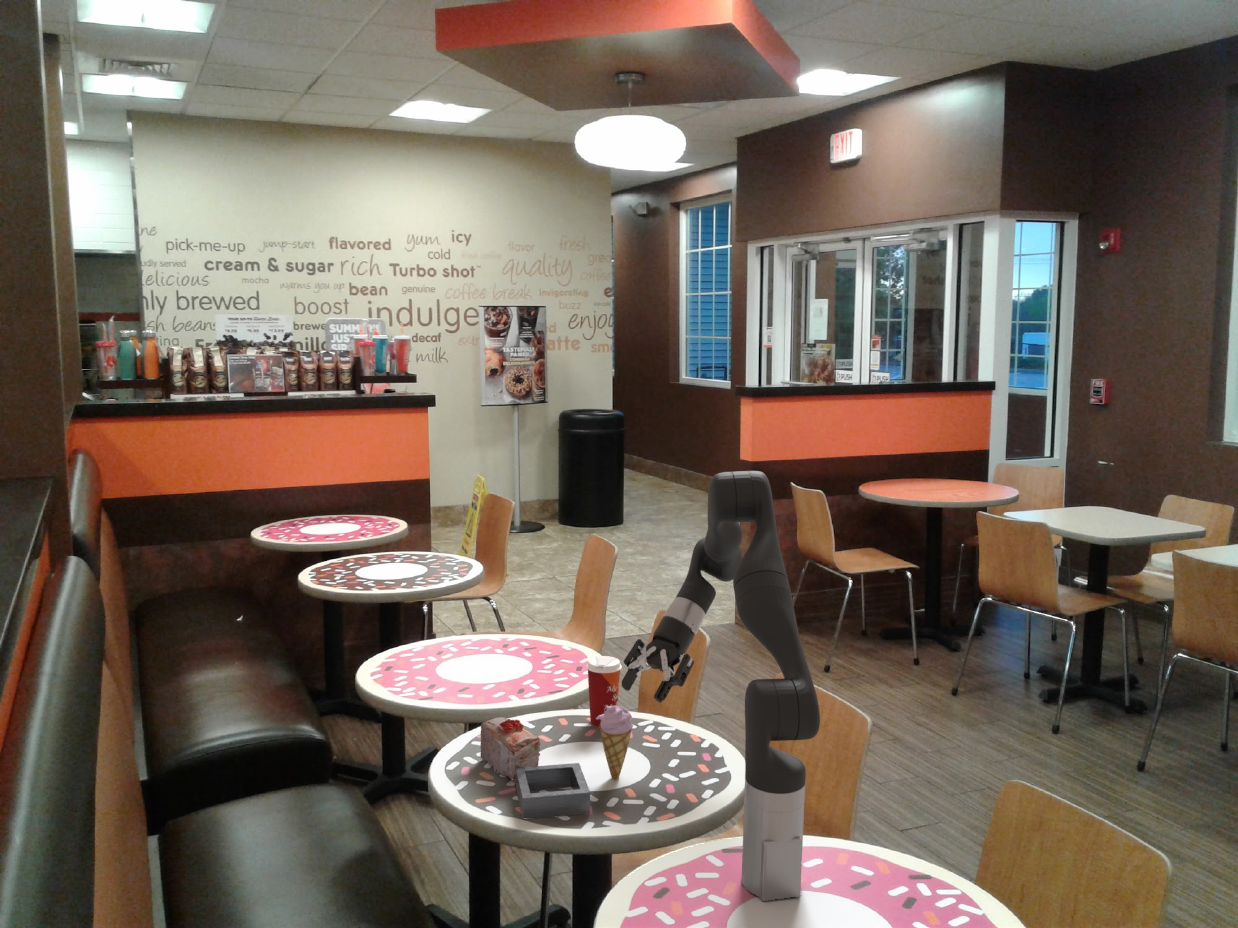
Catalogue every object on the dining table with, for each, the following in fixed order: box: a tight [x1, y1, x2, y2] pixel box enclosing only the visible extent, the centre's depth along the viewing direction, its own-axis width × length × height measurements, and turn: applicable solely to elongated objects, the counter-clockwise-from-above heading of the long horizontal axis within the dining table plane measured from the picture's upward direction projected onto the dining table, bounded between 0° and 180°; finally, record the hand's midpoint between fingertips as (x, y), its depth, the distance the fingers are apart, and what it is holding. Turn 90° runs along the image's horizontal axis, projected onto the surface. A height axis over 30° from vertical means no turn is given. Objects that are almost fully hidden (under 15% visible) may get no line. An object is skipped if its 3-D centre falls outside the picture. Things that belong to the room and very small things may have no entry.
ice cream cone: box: [596, 705, 634, 781], centre depth 190 cm, size 7×6×15 cm
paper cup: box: [585, 655, 623, 728], centre depth 216 cm, size 8×8×14 cm
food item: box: [480, 716, 541, 781], centre depth 194 cm, size 14×8×10 cm, turn 39°
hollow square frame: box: [515, 762, 591, 819], centre depth 182 cm, size 12×12×4 cm
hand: (640, 694), depth 195 cm, fingers open, 8 cm apart
